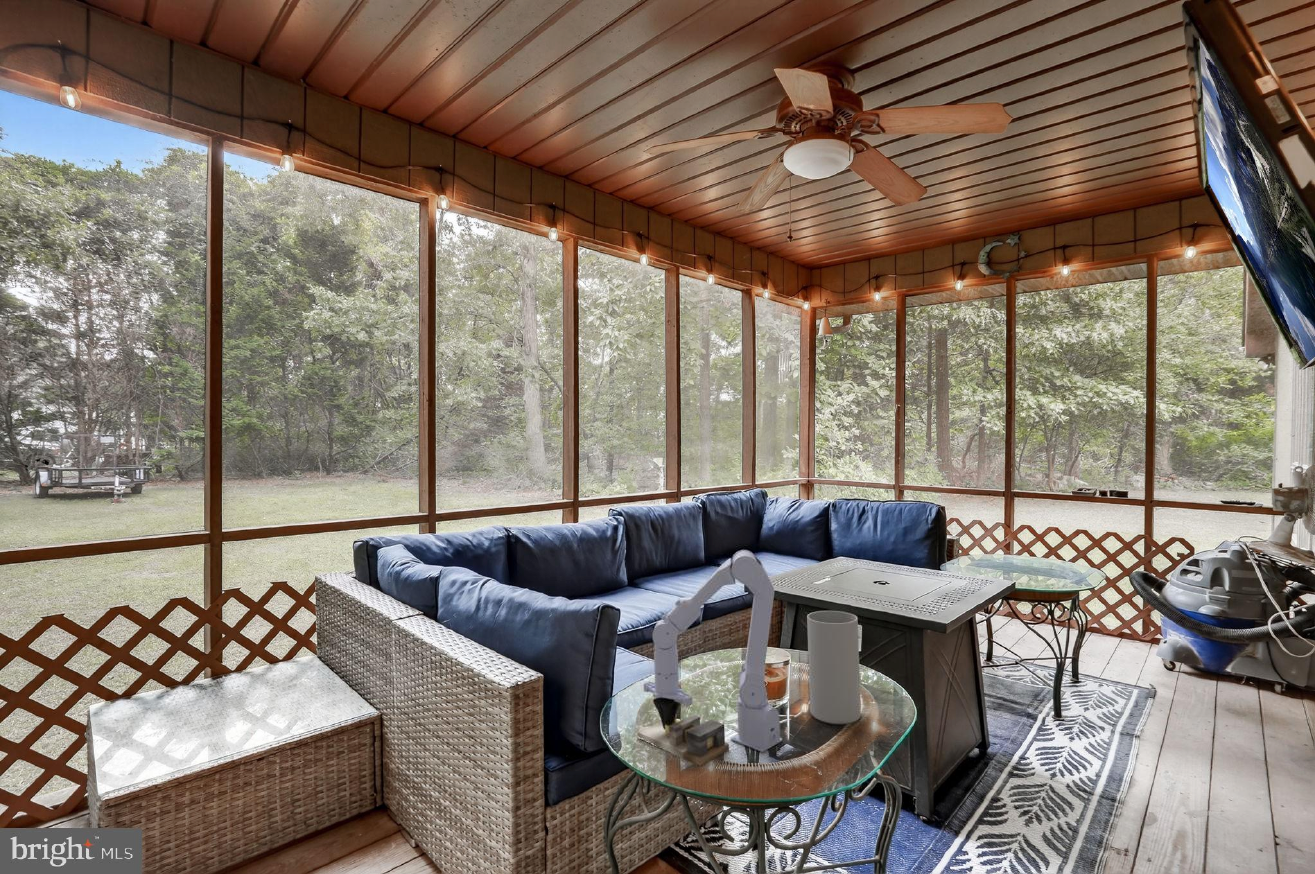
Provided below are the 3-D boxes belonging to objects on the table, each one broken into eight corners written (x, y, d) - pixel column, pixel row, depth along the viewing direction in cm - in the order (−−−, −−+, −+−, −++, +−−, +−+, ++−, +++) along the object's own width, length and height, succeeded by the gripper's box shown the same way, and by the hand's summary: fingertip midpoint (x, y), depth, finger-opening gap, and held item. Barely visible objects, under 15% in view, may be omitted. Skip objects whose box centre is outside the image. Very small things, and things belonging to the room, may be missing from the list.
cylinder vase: (830, 729, 156) (826, 626, 156) (800, 710, 168) (797, 614, 168) (871, 719, 161) (868, 619, 161) (839, 702, 172) (836, 608, 173)
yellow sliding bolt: (716, 744, 146) (715, 733, 146) (703, 751, 143) (703, 740, 143) (678, 729, 154) (677, 718, 154) (665, 735, 151) (664, 724, 151)
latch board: (729, 750, 147) (728, 723, 147) (699, 766, 140) (698, 738, 140) (667, 725, 161) (666, 700, 161) (637, 738, 154) (637, 713, 154)
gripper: (633, 668, 156) (635, 724, 156) (676, 683, 146) (678, 743, 146) (654, 661, 161) (656, 715, 161) (697, 674, 151) (699, 732, 151)
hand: (668, 728), depth 154 cm, fingers closed
